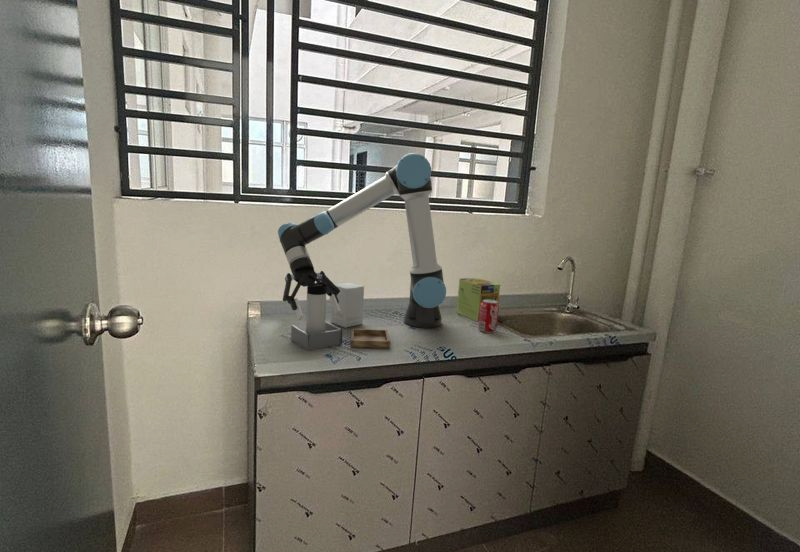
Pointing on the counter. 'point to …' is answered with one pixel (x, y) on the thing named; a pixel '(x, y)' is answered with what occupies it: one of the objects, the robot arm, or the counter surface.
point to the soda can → (488, 315)
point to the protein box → (475, 296)
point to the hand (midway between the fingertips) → (320, 315)
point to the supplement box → (349, 305)
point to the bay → (317, 337)
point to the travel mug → (316, 308)
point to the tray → (370, 338)
